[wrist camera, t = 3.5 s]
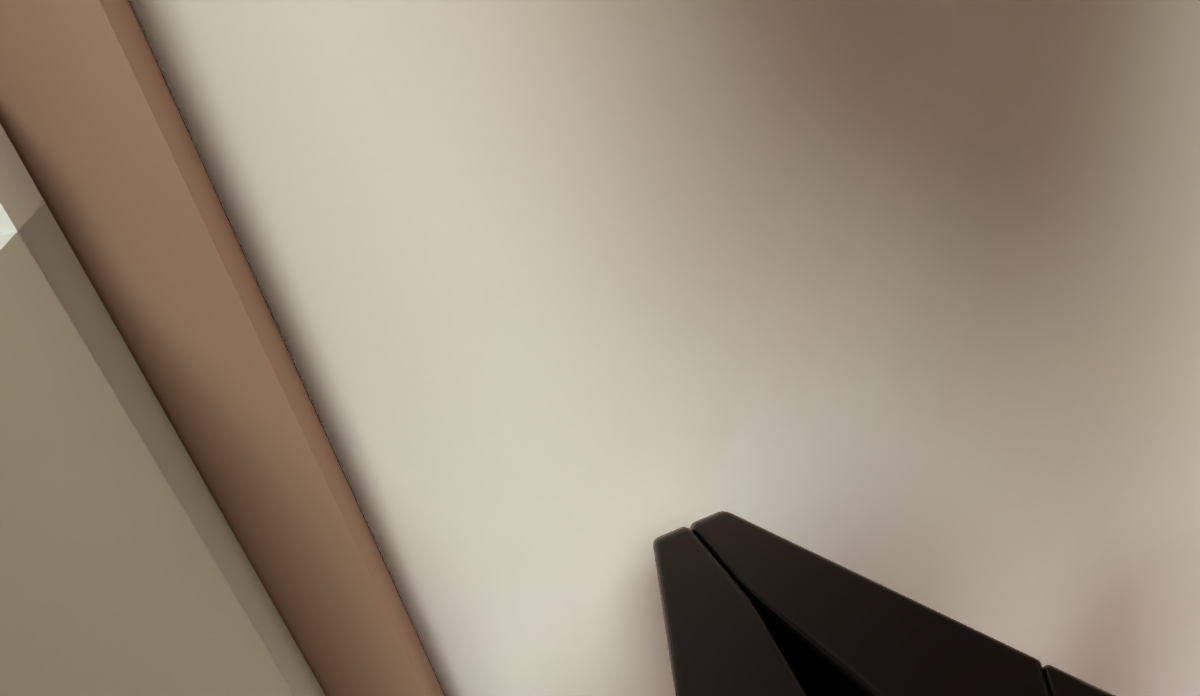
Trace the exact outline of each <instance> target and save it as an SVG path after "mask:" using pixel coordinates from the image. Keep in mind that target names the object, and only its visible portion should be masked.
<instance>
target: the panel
mask: <svg viewBox="0 0 1200 696" xmlns="http://www.w3.org/2000/svg"><path fill="white" fill-rule="evenodd" d="M0 696H326V695H325V694H324V692H323V690H322V688H321V687H320V685H319V683H318V681H317V680H316V678H315V676H314V674H313V672H312V671H311V669H310V667H309V665H308V664H307V662H306V660H305V658H304V657H303V655H302V653H301V651H300V650H299V648H298V646H297V644H296V643H295V641H294V639H293V637H292V636H291V634H290V632H289V630H288V629H287V627H286V625H285V623H284V621H283V620H282V618H281V616H280V614H279V613H278V611H277V609H276V607H275V606H274V604H273V602H272V600H271V599H270V597H269V595H268V593H267V592H266V590H265V588H264V586H263V585H262V583H261V581H260V579H259V578H258V576H257V574H256V572H255V570H254V569H253V567H252V565H251V563H250V562H249V560H248V558H247V556H246V555H245V553H244V551H243V549H242V548H241V546H240V544H239V542H238V541H237V539H236V537H235V535H234V534H233V532H232V530H231V528H230V527H229V525H228V523H227V521H226V519H225V518H224V516H223V514H222V512H221V511H220V509H219V507H218V505H217V504H216V502H215V500H214V498H213V497H212V495H211V493H210V491H209V490H208V488H207V486H206V484H205V483H204V481H203V479H202V477H201V476H200V474H199V472H198V470H197V468H196V467H195V465H194V463H193V461H192V460H191V458H190V456H189V454H188V453H187V451H186V449H185V447H184V446H183V444H182V442H181V440H180V439H179V437H178V435H177V433H176V432H175V430H174V428H173V426H172V425H171V423H170V421H169V419H168V417H167V416H166V414H165V412H164V410H163V409H162V407H161V405H160V403H159V402H158V400H157V398H156V396H155V395H154V393H153V391H152V389H151V388H150V386H149V384H148V382H147V381H146V379H145V377H144V375H143V374H142V372H141V370H140V368H139V366H138V365H137V363H136V361H135V359H134V358H133V356H132V354H131V352H130V351H129V349H128V347H127V345H126V344H125V342H124V340H123V338H122V337H121V335H120V333H119V331H118V330H117V328H116V326H115V324H114V323H113V321H112V319H111V317H110V315H109V314H108V312H107V310H106V308H105V307H104V305H103V303H102V301H101V300H100V298H99V296H98V294H97V293H96V291H95V289H94V287H93V286H92V284H91V282H90V280H89V279H88V277H87V275H86V273H85V272H84V270H83V268H82V266H81V264H80V263H79V261H78V259H77V257H76V256H75V254H74V252H73V250H72V249H71V247H70V245H69V243H68V242H67V240H66V238H65V236H64V235H63V233H62V231H61V229H60V228H59V226H58V224H57V222H56V221H55V219H54V217H53V215H52V213H51V212H50V210H49V208H48V206H47V205H46V203H45V201H44V199H43V198H42V196H41V194H40V192H39V191H38V189H37V187H36V185H35V184H34V182H33V180H32V178H31V177H30V175H29V173H28V171H27V170H26V168H25V166H24V164H23V162H22V161H21V159H20V157H19V155H18V154H17V152H16V150H15V148H14V147H13V145H12V143H11V141H10V140H9V138H8V136H7V134H6V133H5V131H4V129H3V127H2V126H1V124H0Z"/></svg>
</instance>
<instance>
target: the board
mask: <svg viewBox="0 0 1200 696" xmlns="http://www.w3.org/2000/svg"><path fill="white" fill-rule="evenodd" d="M0 124H1V126H2V127H3V129H4V131H5V133H6V134H7V136H8V138H9V140H10V141H11V143H12V145H13V147H14V148H15V150H16V152H17V154H18V155H19V157H20V159H21V161H22V162H23V164H24V166H25V168H26V170H27V171H28V173H29V175H30V177H31V178H32V180H33V182H34V184H35V185H36V187H37V189H38V191H39V192H40V194H41V196H42V198H43V199H44V201H45V203H46V205H47V206H48V208H49V210H50V212H51V213H52V215H53V217H54V219H55V221H56V222H57V224H58V226H59V228H60V229H61V231H62V233H63V235H64V236H65V238H66V240H67V242H68V243H69V245H70V247H71V249H72V250H73V252H74V254H75V256H76V257H77V259H78V261H79V263H80V264H81V266H82V268H83V270H84V272H85V273H86V275H87V277H88V279H89V280H90V282H91V284H92V286H93V287H94V289H95V291H96V293H97V294H98V296H99V298H100V300H101V301H102V303H103V305H104V307H105V308H106V310H107V312H108V314H109V315H110V317H111V319H112V321H113V323H114V324H115V326H116V328H117V330H118V331H119V333H120V335H121V337H122V338H123V340H124V342H125V344H126V345H127V347H128V349H129V351H130V352H131V354H132V356H133V358H134V359H135V361H136V363H137V365H138V366H139V368H140V370H141V372H142V374H143V375H144V377H145V379H146V381H147V382H148V384H149V386H150V388H151V389H152V391H153V393H154V395H155V396H156V398H157V400H158V402H159V403H160V405H161V407H162V409H163V410H164V412H165V414H166V416H167V417H168V419H169V421H170V423H171V425H172V426H173V428H174V430H175V432H176V433H177V435H178V437H179V439H180V440H181V442H182V444H183V446H184V447H185V449H186V451H187V453H188V454H189V456H190V458H191V460H192V461H193V463H194V465H195V467H196V468H197V470H198V472H199V474H200V476H201V477H202V479H203V481H204V483H205V484H206V486H207V488H208V490H209V491H210V493H211V495H212V497H213V498H214V500H215V502H216V504H217V505H218V507H219V509H220V511H221V512H222V514H223V516H224V518H225V519H226V521H227V523H228V525H229V527H230V528H231V530H232V532H233V534H234V535H235V537H236V539H237V541H238V542H239V544H240V546H241V548H242V549H243V551H244V553H245V555H246V556H247V558H248V560H249V562H250V563H251V565H252V567H253V569H254V570H255V572H256V574H257V576H258V578H259V579H260V581H261V583H262V585H263V586H264V588H265V590H266V592H267V593H268V595H269V597H270V599H271V600H272V602H273V604H274V606H275V607H276V609H277V611H278V613H279V614H280V616H281V618H282V620H283V621H284V623H285V625H286V627H287V629H288V630H289V632H290V634H291V636H292V637H293V639H294V641H295V643H296V644H297V646H298V648H299V650H300V651H301V653H302V655H303V657H304V658H305V660H306V662H307V664H308V665H309V667H310V669H311V671H312V672H313V674H314V676H315V678H316V680H317V681H318V683H319V685H320V687H321V688H322V690H323V692H324V694H325V695H326V696H445V695H444V693H443V691H442V689H441V686H440V684H439V682H438V680H437V678H436V675H435V673H434V671H433V669H432V667H431V664H430V662H429V660H428V658H427V656H426V653H425V651H424V649H423V647H422V645H421V642H420V640H419V638H418V636H417V634H416V631H415V629H414V627H413V625H412V623H411V620H410V618H409V616H408V614H407V612H406V610H405V607H404V605H403V603H402V601H401V599H400V596H399V594H398V592H397V590H396V588H395V585H394V583H393V581H392V579H391V577H390V574H389V572H388V570H387V568H386V566H385V563H384V561H383V559H382V557H381V555H380V552H379V550H378V548H377V546H376V544H375V541H374V539H373V537H372V535H371V533H370V530H369V528H368V526H367V524H366V522H365V519H364V517H363V515H362V513H361V511H360V509H359V506H358V504H357V502H356V500H355V498H354V495H353V493H352V491H351V489H350V487H349V484H348V482H347V480H346V478H345V476H344V473H343V471H342V469H341V467H340V465H339V462H338V460H337V458H336V456H335V454H334V451H333V449H332V447H331V445H330V443H329V440H328V438H327V436H326V434H325V432H324V429H323V427H322V425H321V423H320V421H319V418H318V416H317V414H316V412H315V410H314V407H313V405H312V403H311V401H310V399H309V397H308V394H307V392H306V390H305V388H304V386H303V383H302V381H301V379H300V377H299V375H298V372H297V370H296V368H295V366H294V364H293V361H292V359H291V357H290V355H289V353H288V350H287V348H286V346H285V344H284V342H283V339H282V337H281V335H280V333H279V331H278V328H277V326H276V324H275V322H274V320H273V317H272V315H271V313H270V311H269V309H268V306H267V304H266V302H265V300H264V298H263V295H262V293H261V291H260V289H259V287H258V285H257V282H256V280H255V278H254V276H253V274H252V271H251V269H250V267H249V265H248V263H247V260H246V258H245V256H244V254H243V252H242V249H241V247H240V245H239V243H238V241H237V238H236V236H235V234H234V232H233V230H232V227H231V225H230V223H229V221H228V219H227V216H226V214H225V212H224V210H223V208H222V205H221V203H220V201H219V199H218V197H217V194H216V192H215V190H214V188H213V186H212V183H211V181H210V179H209V177H208V175H207V173H206V170H205V168H204V166H203V164H202V162H201V159H200V157H199V155H198V153H197V151H196V148H195V146H194V144H193V142H192V140H191V137H190V135H189V133H188V131H187V129H186V126H185V124H184V122H183V120H182V118H181V115H180V113H179V111H178V109H177V107H176V104H175V102H174V100H173V98H172V96H171V93H170V91H169V89H168V87H167V85H166V82H165V80H164V78H163V76H162V74H161V71H160V69H159V67H158V65H157V63H156V61H155V58H154V56H153V54H152V52H151V50H150V47H149V45H148V43H147V41H146V39H145V36H144V34H143V32H142V30H141V28H140V25H139V23H138V21H137V19H136V17H135V14H134V12H133V10H132V8H131V6H130V3H129V1H128V0H0Z"/></svg>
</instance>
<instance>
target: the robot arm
mask: <svg viewBox="0 0 1200 696" xmlns="http://www.w3.org/2000/svg"><path fill="white" fill-rule="evenodd" d="M653 548H654V555H655V561H656V568H657V575H658V581H659V588H660V595H661V601H662V608H663V615H664V621H665V628H666V635H667V641H668V648H669V655H670V662H671V668H672V675H673V682H674V688H675V695H676V696H1115V695H1113V694H1110V693H1108V692H1106V691H1104V690H1102V689H1099V688H1097V687H1095V686H1093V685H1091V684H1088V683H1086V682H1084V681H1082V680H1080V679H1078V678H1076V677H1074V676H1072V675H1070V674H1067V673H1065V672H1063V671H1061V670H1059V669H1057V668H1055V667H1053V666H1051V665H1046V666H1044V667H1042V664H1041V663H1040V661H1039V660H1037V659H1035V658H1033V657H1031V656H1029V655H1027V654H1025V653H1023V652H1021V651H1019V650H1016V649H1014V648H1012V647H1010V646H1008V645H1006V644H1004V643H1002V642H1000V641H998V640H995V639H993V638H991V637H989V636H987V635H985V634H983V633H981V632H979V631H977V630H975V629H972V628H970V627H968V626H966V625H964V624H962V623H960V622H958V621H956V620H954V619H951V618H949V617H947V616H945V615H943V614H941V613H939V612H937V611H935V610H933V609H931V608H928V607H926V606H924V605H922V604H920V603H918V602H916V601H914V600H912V599H910V598H907V597H905V596H903V595H901V594H899V593H897V592H895V591H893V590H891V589H889V588H887V587H884V586H882V585H880V584H878V583H876V582H874V581H872V580H870V579H868V578H866V577H863V576H861V575H859V574H857V573H855V572H853V571H851V570H849V569H847V568H845V567H843V566H840V565H838V564H836V563H834V562H832V561H830V560H828V559H826V558H824V557H822V556H819V555H817V554H815V553H813V552H811V551H809V550H807V549H805V548H803V547H801V546H799V545H796V544H794V543H792V542H790V541H788V540H786V539H784V538H782V537H780V536H778V535H775V534H773V533H771V532H769V531H767V530H765V529H763V528H761V527H759V526H757V525H755V524H752V523H750V522H748V521H746V520H744V519H742V518H740V517H738V516H736V515H734V514H731V513H729V512H724V511H721V512H718V513H715V514H713V515H710V516H708V517H706V518H703V519H701V520H698V521H696V522H694V523H693V524H692V525H691V527H690V529H689V528H687V527H682V528H679V529H677V530H674V531H672V532H670V533H667V534H665V535H662V536H660V537H658V538H656V539H655V540H654V543H653Z"/></svg>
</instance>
